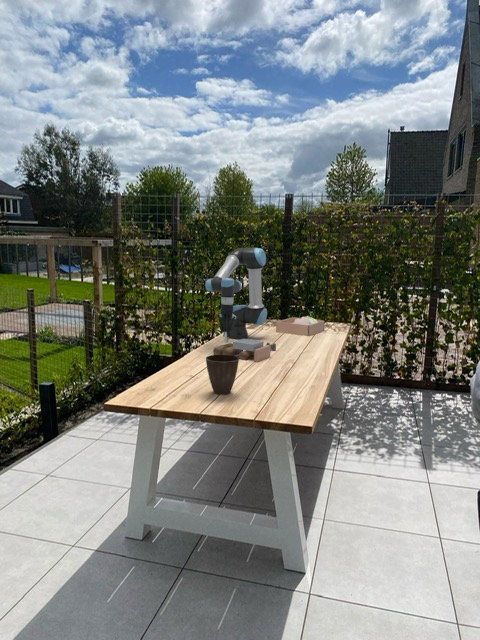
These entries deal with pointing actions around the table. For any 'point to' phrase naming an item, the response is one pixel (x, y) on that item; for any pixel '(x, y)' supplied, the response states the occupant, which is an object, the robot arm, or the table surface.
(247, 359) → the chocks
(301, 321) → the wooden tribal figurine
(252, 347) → the slab
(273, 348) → the rack
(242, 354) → the roller
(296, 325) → the planter
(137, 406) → the table surface
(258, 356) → the block
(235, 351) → the roller
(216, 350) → the roller
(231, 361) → the plant pot
